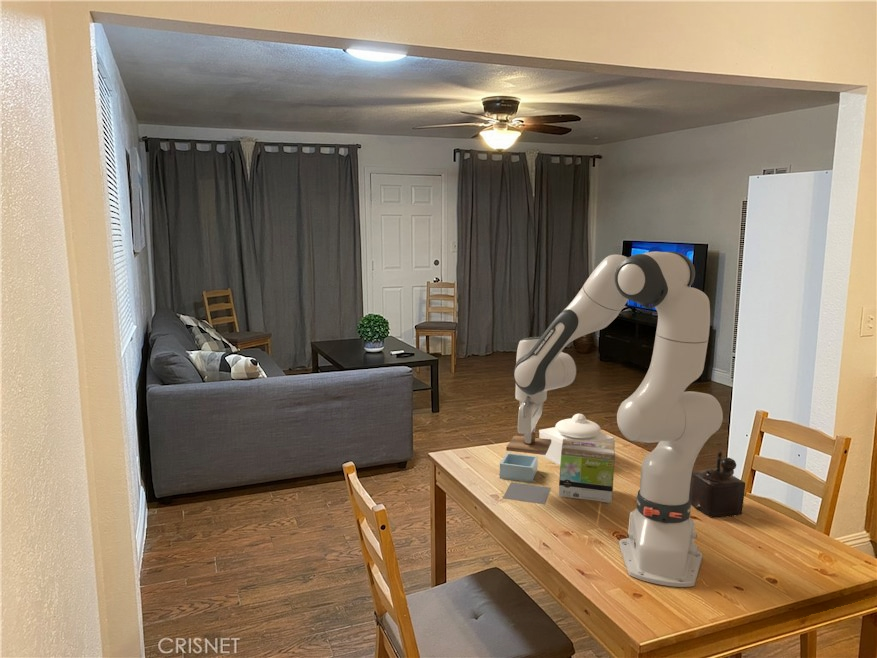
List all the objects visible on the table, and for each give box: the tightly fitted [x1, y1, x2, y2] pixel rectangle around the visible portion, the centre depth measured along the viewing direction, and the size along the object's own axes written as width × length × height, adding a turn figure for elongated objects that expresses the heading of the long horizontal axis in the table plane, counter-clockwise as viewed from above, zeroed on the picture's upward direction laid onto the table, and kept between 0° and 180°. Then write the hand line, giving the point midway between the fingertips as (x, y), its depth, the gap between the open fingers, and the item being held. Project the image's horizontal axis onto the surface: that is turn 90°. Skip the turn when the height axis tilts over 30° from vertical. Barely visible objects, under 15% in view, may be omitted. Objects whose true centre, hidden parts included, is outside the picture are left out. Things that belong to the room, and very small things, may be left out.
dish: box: [499, 452, 539, 483], centre depth 196 cm, size 10×10×5 cm
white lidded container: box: [538, 413, 616, 466], centre depth 210 cm, size 18×18×16 cm
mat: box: [502, 481, 552, 505], centre depth 182 cm, size 12×12×1 cm
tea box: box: [558, 439, 616, 504], centre depth 182 cm, size 15×10×15 cm, turn 76°
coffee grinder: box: [689, 451, 746, 518], centre depth 171 cm, size 16×11×18 cm
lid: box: [505, 432, 551, 456], centre depth 180 cm, size 11×11×4 cm
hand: (529, 440), depth 180 cm, fingers closed on lid, 3 cm apart
